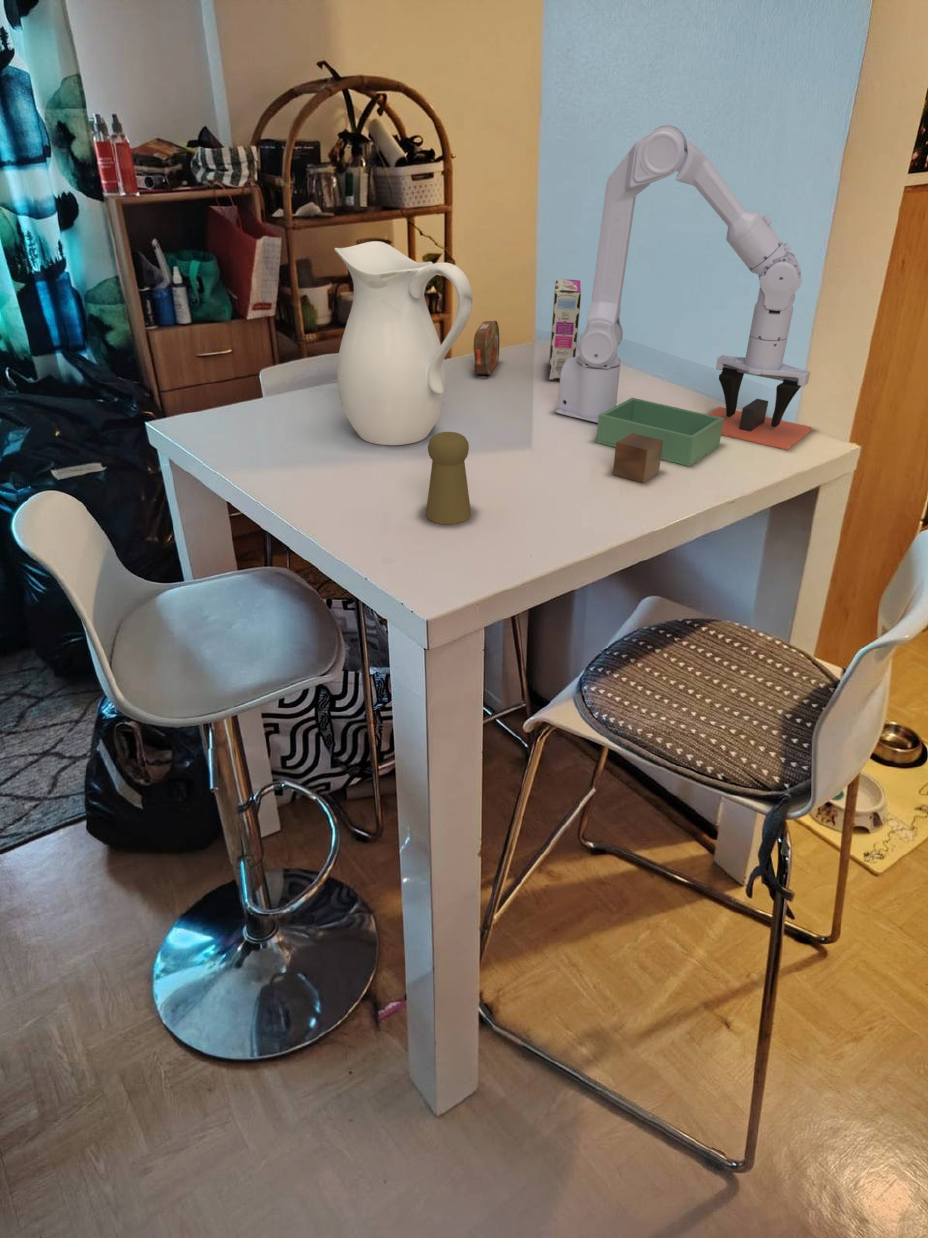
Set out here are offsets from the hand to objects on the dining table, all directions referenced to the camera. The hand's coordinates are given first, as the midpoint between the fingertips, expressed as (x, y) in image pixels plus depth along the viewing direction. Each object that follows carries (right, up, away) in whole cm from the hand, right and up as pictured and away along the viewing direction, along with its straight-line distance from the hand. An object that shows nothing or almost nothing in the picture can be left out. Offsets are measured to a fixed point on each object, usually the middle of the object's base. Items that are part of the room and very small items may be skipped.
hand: (752, 420), depth 146 cm
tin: (-43, +16, +28) cm, 54 cm away
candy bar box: (-28, +15, +26) cm, 42 cm away
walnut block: (-22, -11, -16) cm, 30 cm away
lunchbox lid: (0, -1, +1) cm, 2 cm away
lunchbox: (-17, -5, -6) cm, 18 cm away
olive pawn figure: (-49, -19, -28) cm, 60 cm away
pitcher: (-56, -4, -5) cm, 57 cm away
